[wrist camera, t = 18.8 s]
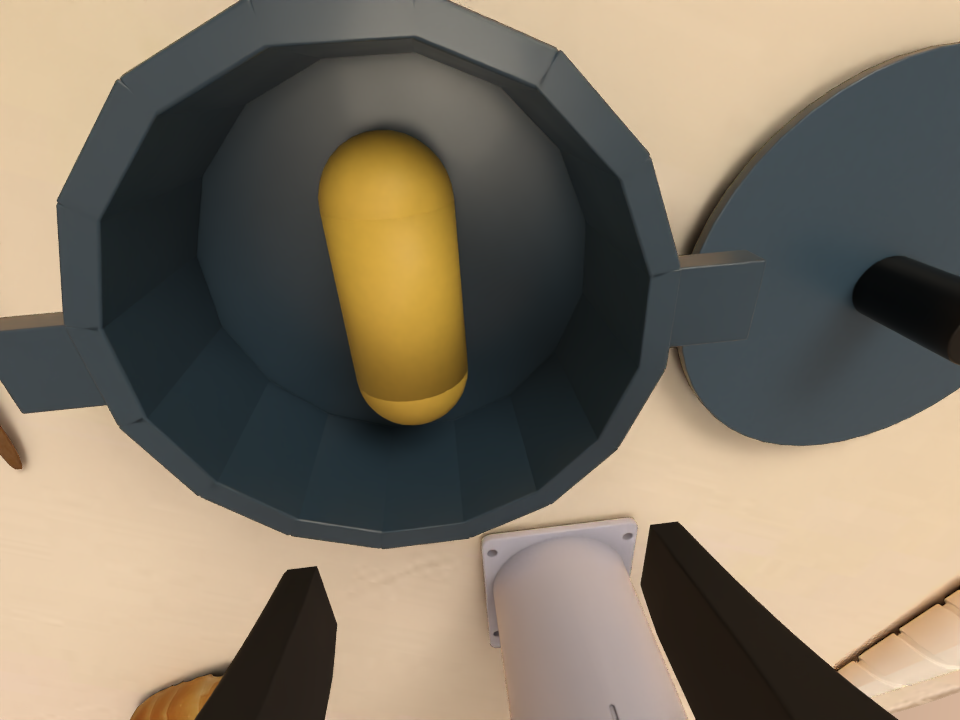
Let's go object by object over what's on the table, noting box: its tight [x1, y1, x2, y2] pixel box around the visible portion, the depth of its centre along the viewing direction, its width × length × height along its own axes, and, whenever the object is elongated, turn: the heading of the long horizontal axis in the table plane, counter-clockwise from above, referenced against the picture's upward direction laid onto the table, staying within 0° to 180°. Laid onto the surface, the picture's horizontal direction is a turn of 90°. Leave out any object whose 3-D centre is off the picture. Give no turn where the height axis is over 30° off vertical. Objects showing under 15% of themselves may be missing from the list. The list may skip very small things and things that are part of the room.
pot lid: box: [678, 42, 960, 446], centre depth 17 cm, size 16×16×5 cm
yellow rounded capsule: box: [318, 130, 468, 425], centre depth 15 cm, size 9×4×4 cm, turn 3°
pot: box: [0, 0, 766, 549], centre depth 15 cm, size 15×20×6 cm
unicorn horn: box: [837, 589, 960, 698], centre depth 31 cm, size 5×24×5 cm, turn 144°
